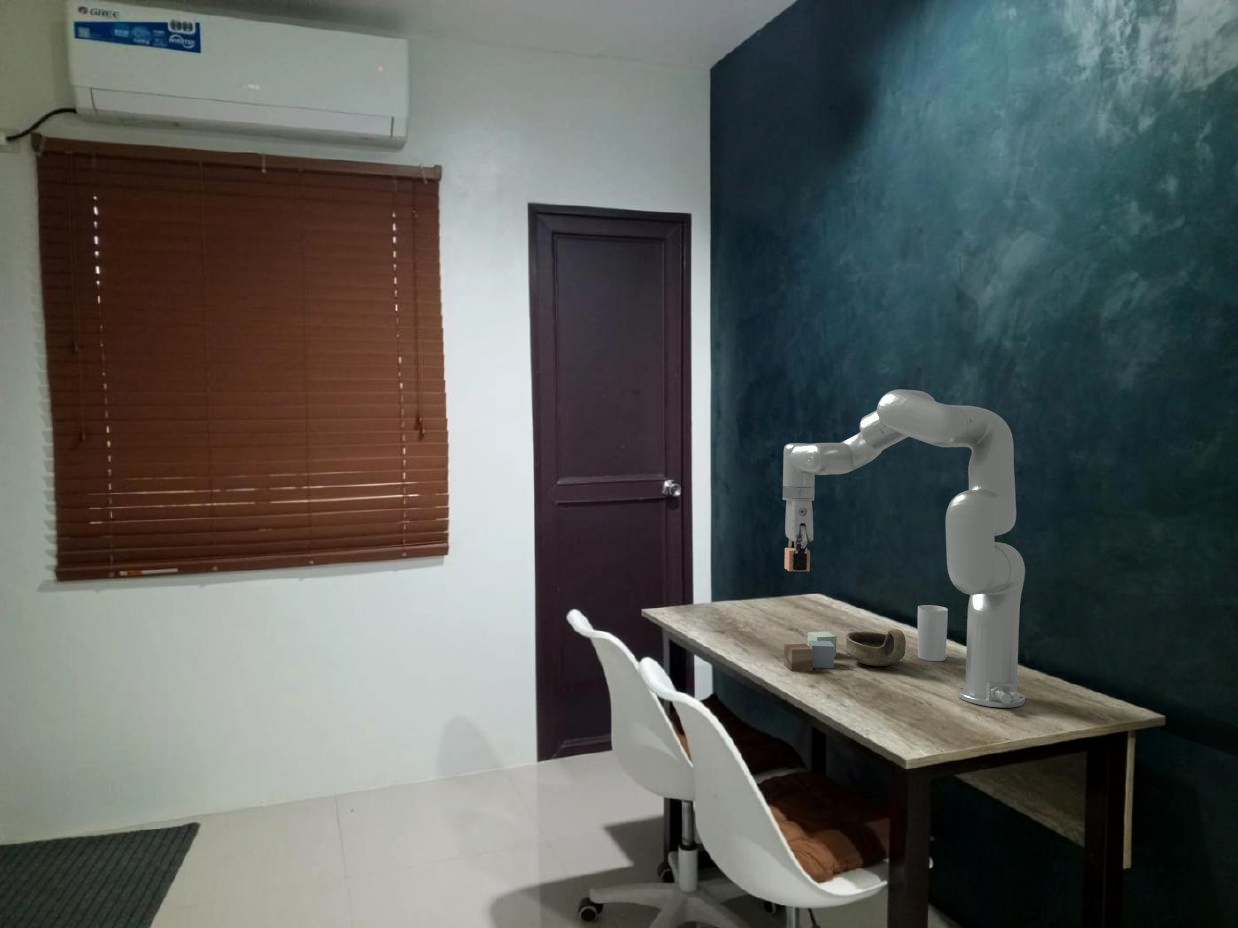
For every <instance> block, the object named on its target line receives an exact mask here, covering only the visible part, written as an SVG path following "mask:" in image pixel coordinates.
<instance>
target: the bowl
mask: <svg viewBox="0 0 1238 928" xmlns="http://www.w3.org/2000/svg"><path fill="white" fill-rule="evenodd" d="M845 640H846V645H845V653H846V655H848V656H849V657H851V658H852V659H854V660H856V661H857V662H859V663H861V664H863V665H867V666H869V667H870V666H872V667H887V666H891V665H893V664H895V663H898V662H899V661H900V660H902V659H903V658H904V657H905V654H906V646H907V645H906V643H907V641H906V640H907V639H906V636H905V634H904V632H903V631H901V630H900V629H898V628H892V629H889V630H888V632H887V633H886V634H885V633H880V632H874V631H873V632H872V631H851V632H848V633H847V634H846V635H845Z"/></svg>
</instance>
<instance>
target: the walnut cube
mask: <svg viewBox="0 0 1238 928" xmlns="http://www.w3.org/2000/svg"><path fill="white" fill-rule="evenodd" d="M783 666H784V667H785V668H786V669H788V670H789V671H790V672H811V671H812V672H813V671H814V670H813V669H814V667H813V649H812V648H811V647H809V646H808V644H807V643H784V644H783Z"/></svg>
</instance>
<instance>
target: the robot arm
mask: <svg viewBox="0 0 1238 928" xmlns="http://www.w3.org/2000/svg"><path fill="white" fill-rule="evenodd" d="M859 431H860V432H858V433H856V434H855V435H853V436H851V437H849V438H847V439H846V440H843V441H841V442H816V443H806V442H805V443H802V442H801V443H800V442H797V443H796V442H795V443H794V442H791V443H788V444H787V443H786V445H784V448H783V461H782V462H783V467H782V468H783V469H782V472H783V473H782V475H783V476H782V500H783V501H786V504H785V521H784V522H785V524H784V525H785V526H784V527H785V528H784V529H785V531H784V533H785V537H786V538H787V539H788V545H787V548H794V549H795V554H793V570H807V549H808V542H812V541H814V512H813V504H812V501H815V481H816V480H815V478H816V477H815V475H816V476H829V475H842V474H847V473H849V472H852V471H855V470H857V469H859V468H862V466H865V465H867V464H868V463H870V462H873V460H875V459H876V458H877V457H878V456H879V455H881V453H882V451H883V450H885V449H887V448H889V447H891V446H893V445H894V444H897V443H898V442H902V441H903V440H904V439H907V438H909V437H910V438H912V439H915V440H918V441H921V442H923V443H926V444H930V445H931V446H936V447H939V448H968V449H970V450H971V455H970V459H969V462H968V468H967V469H968V470H967V472H968V473H967V474H968V490H965V491H962V492H960V493H958V494H957V495H956V496H954V497H953V498H952V499H951V501H950V502H949V504H948V507H947V509H946V514H945V543H946V545H945V546H946V548H945V549H946V566H947V567H946V568H947V572H948V575H949V579H950V581H951V583H952V584H953V586H954V587H955V588H956V589H957V590H958V591H959V592H961V593H963V594H966V595H969V599H968V605H967V620H966V622H967V623H966V624H967V625H966V627H967V628H966V654H965V657H966V658H965V659H966V660H965V684H964V685H963V684H962V685H960V686H958V687H957V688H956V694H957V697H959V698H960V699H962V700H963V701H965V702H969V703H972V704H975V705H978V706H984V707H992V708H999V709H1000V708H1003V709H1004V708H1006V709H1008V708H1017V707H1018V708H1019V707H1021V706H1023V705H1024V704H1025V703H1026V697H1025V695H1024V694H1023V693H1021V692H1020V691H1018V688H1017V687H1018V667H1019V666H1018V665H1019V664H1018V663H1019V659H1018V658H1019V630H1020V629H1019V626H1020V609H1021V607H1020V606H1021V599H1022V593H1023V587H1024V582H1025V576H1026V566H1025V562H1024V559H1023V557H1022V555H1021V553H1020V552H1019V551H1018V550H1017V549H1016V548H1015V547H1013V546H1012V545H1009V544H1007V543H1003V542H999V541H995V537H996V536H1001V535H1004V534H1006V533H1008V532H1009V531H1011V530H1012V529H1013V528H1014V526H1015V524H1016V521H1017V504H1016V503H1017V502H1016V480H1015V469H1014V468H1015V464H1014V462H1015V461H1014V458H1015V457H1014V452H1015V451H1014V448H1015V447H1014V439H1013V434H1012V431H1011V429H1010V427H1009V425H1008V423H1007V422H1006V420H1004V419H1003V417H1001V416H1000V415H999V414H997V413H996V412H994V411H991V410H989V409H986V408H982V407H979V406H973V405H954V404H945V403H942V402H939V401H936V400H935V398H934V397H933V396H932V395H930V394H929V393H928V392H925V391H922V390H915V389H914V390H913V389H904V388H903V389H893V390H890V391H888V392H887V393H885V394H884V395H882V397H881V398H880V399H879V401H878V404H877V407H876V410H874V411H872V412H871V413H869V414H866V415H865V416H862V418H861V420H860V422H859Z"/></svg>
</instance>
